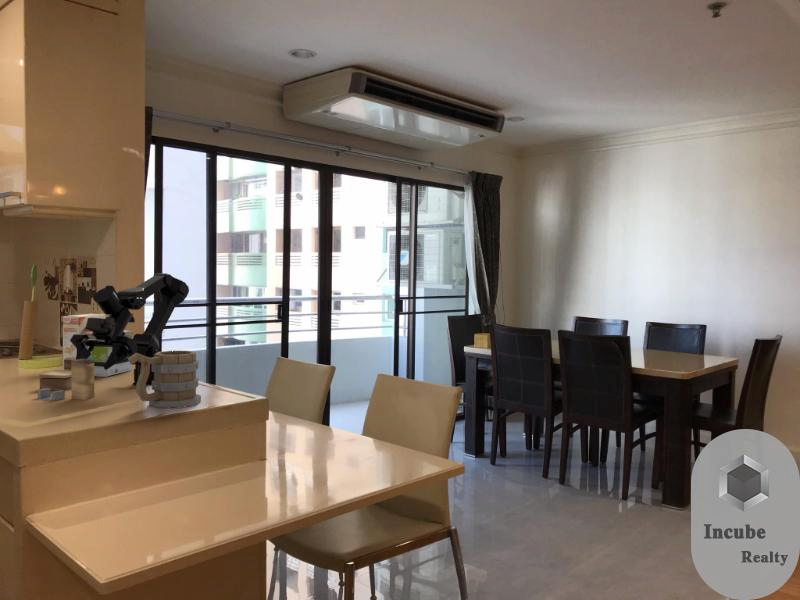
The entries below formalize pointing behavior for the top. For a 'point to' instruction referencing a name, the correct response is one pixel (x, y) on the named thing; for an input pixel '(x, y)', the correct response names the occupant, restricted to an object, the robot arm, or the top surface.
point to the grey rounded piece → (46, 395)
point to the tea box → (102, 355)
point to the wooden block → (82, 378)
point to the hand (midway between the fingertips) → (90, 368)
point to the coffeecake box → (75, 332)
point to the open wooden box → (56, 383)
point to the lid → (60, 371)
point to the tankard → (169, 378)
